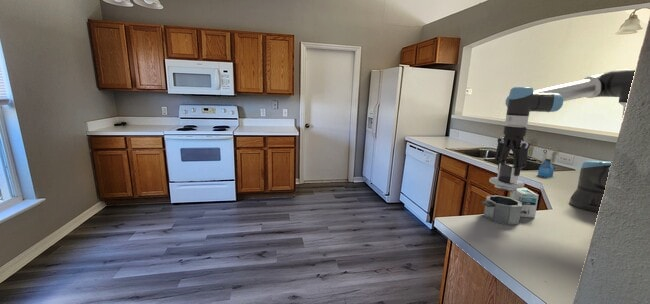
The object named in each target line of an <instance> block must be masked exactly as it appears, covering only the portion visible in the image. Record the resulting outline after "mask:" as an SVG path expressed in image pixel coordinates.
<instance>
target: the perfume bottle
mask: <svg viewBox="0 0 650 304" xmlns="http://www.w3.org/2000/svg"><path fill="white" fill-rule="evenodd" d="M554 172H555V167H554V165H553V164H552V159H551V158H545V159H544V163H541V164H540V166H538V172H537V176H538V175H540V176H539V177H542V176H544V177H543V178H548V179H549V178H553V177H554Z"/></svg>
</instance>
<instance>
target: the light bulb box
mask: <svg viewBox="0 0 650 304" xmlns="http://www.w3.org/2000/svg"><path fill="white" fill-rule="evenodd" d="M509 193H510V194H509V198H513V199H515V200H519V201H521V202H524V203H525V205H522V208H521V214H520V218H521V217H523V218H532V219H534V218H536V213H537V212H536V211H537V207H538V202H539V201H538V200H539V196H540V194H538V193H535V192H533V191H532V190H530V189H528V187H523V188H517V190H516V191H509Z"/></svg>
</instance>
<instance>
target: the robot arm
mask: <svg viewBox="0 0 650 304" xmlns="http://www.w3.org/2000/svg"><path fill="white" fill-rule="evenodd" d="M635 68H636V67H632V68H622V69H621V68H619V69H614V70H609V71H607V72H603V73H599V74H595V75H590V76H586V77H585V78H583V79H582V80H578V81H573V82H568V83H564V84H563V83H562V84H557V85H553V86H550V87H549V86H548V87H544V88H540V89H535V90H534V88H533V87H531V86H515V87H511V89H509V90H510V91H509V95H508V96H507V97H506V99H505V106H506V114H505V115H506V116H505V120H504V124H505V125H504V127H503V135H504V136H503V137H502V138H497V147H496V151H495V156H494V161H496V162H497V176H496V177H497V178H499V171H500V165H501V164H507V158H508V155H509V153H510V151H511V152H512V157H513V165H514V167H512V172H511V178H510V183H517V180H518V181H519V179H518V178H519V177H520V174H521V169H522V168H527V162H528V155H529V154H528V153H529V148H530V146H531V143H530V142H525V141H524V137H526V135H527V134H526V133H527V129H528V128H527V126H528V123H529V117H530V112H536V113H537V112H538V113H554V112H558V111H559V110H560V109H561V108H562V107H563V105H564V102H567V101H568V102H569V101H571V100H577V99H582V98H587V99H593V98H615V97H616V98H618V103H619V105H622V107H623V109H622V118H623V115H624V111H625V107H626V103H627V99H628V94H629V91H630V87H631V83H632V80H633V76H634V72H635ZM622 118H621V119H622ZM611 162H612V161H609V160H608V161H606V160H584V161H583V163H582V165H581V167H580V173H579V177H578V182H577V188H576V189H575V191H574V192H573V193H572V195H571V196H570V198H569V204H570V205H571V206H574V207H576V208H578V209H581V210H585V211H589V212H594V213H595V212H596V213H599V212H598V211H599V207H600V204H601V200H602V197H603V194H604V190H605V185H606V181H607V177H608V172H609V168H610V166H611Z"/></svg>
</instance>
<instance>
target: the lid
mask: <svg viewBox="0 0 650 304" xmlns="http://www.w3.org/2000/svg"><path fill="white" fill-rule="evenodd" d="M512 167H514V163H513V164H511V163H505V164H501V165H500V171H499V178H497V176H493V177H489V183H491V184H492V185H494V188H496V189H498V190H502V191H506V192H511V191H516V190H517V188H525V183H524V182H523V181H521V180H519V179H518V180H517V183H510V178H511V172H512Z"/></svg>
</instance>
